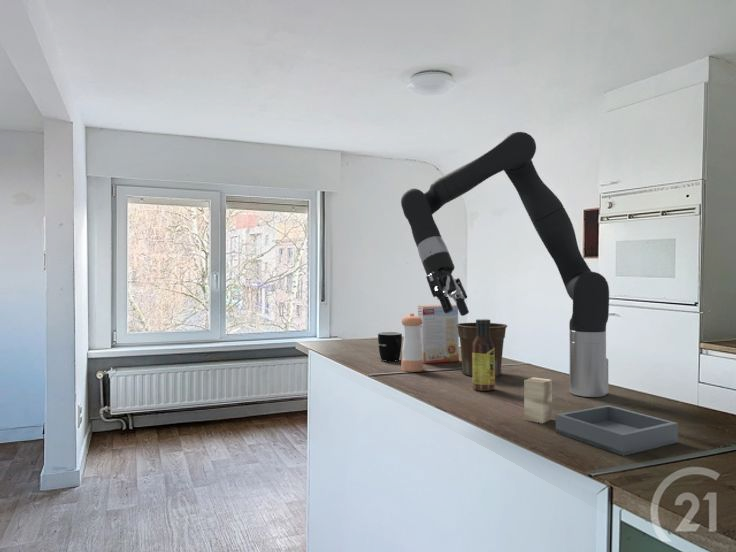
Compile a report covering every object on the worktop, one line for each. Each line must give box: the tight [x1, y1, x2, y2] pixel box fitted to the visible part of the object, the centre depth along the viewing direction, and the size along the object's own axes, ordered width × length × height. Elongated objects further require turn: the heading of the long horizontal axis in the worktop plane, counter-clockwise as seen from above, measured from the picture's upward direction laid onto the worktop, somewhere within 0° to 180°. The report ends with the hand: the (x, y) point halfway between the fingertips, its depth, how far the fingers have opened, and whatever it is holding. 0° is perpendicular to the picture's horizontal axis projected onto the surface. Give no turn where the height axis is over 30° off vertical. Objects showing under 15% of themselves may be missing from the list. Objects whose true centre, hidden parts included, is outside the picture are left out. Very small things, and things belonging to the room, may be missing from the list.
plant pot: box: [456, 322, 508, 377], centre depth 176 cm, size 16×16×16 cm
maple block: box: [523, 376, 553, 424], centre depth 123 cm, size 4×4×9 cm
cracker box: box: [417, 303, 460, 364], centre depth 199 cm, size 14×6×21 cm, turn 105°
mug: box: [377, 331, 403, 362], centre depth 202 cm, size 12×9×10 cm
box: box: [555, 404, 679, 457], centre depth 109 cm, size 16×16×4 cm
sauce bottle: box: [472, 318, 496, 392], centre depth 153 cm, size 7×6×20 cm
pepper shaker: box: [400, 313, 424, 373], centre depth 183 cm, size 7×7×19 cm
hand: (457, 313), depth 137 cm, fingers open, 8 cm apart
